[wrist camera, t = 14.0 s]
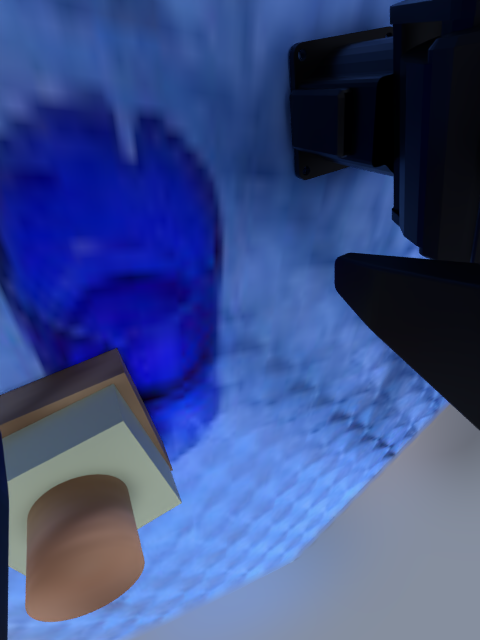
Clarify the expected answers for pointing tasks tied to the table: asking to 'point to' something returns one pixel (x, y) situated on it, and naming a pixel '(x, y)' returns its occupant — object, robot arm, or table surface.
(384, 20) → the table surface
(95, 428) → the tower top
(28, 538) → the puck
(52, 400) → the tower base
